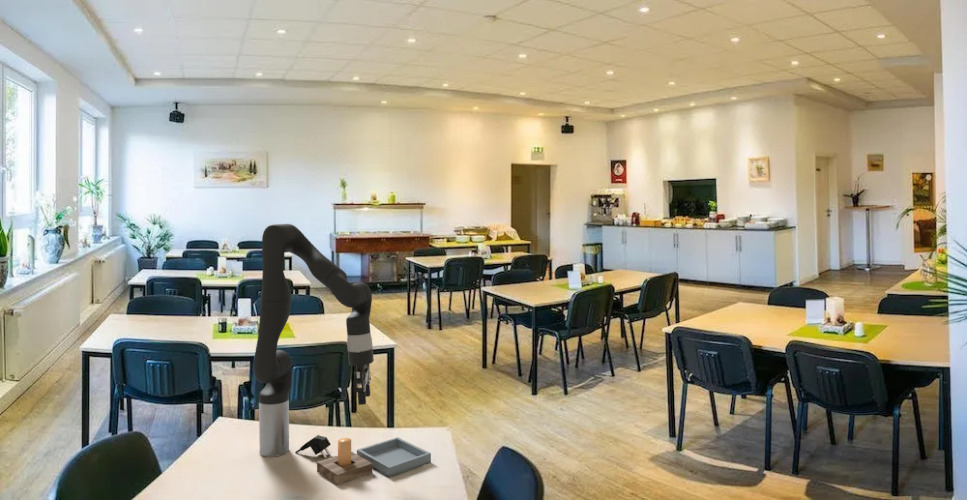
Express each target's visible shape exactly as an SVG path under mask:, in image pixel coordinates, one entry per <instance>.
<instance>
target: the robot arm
mask: <svg viewBox="0 0 967 500" xmlns="http://www.w3.org/2000/svg"><path fill="white" fill-rule="evenodd" d="M261 239H262V240H261V251H262V252H261V253H262V257H261V258H262V277H261V278H262V280H261V281H262V283H261V294H260V304H259V305H260V307H259V308H260V309H259V320H258V321H259V322H258V323H259V325H258V332H257V333H258V334H257V341H256V346H255V351H254V353H255V354H254V358H253V364H252V365H253V369H252V371H253V374H254V377H255V379H256V380H257V382H259V383H261V384H265V386H264V387H263V388H262V389H261V390H260V392H259V394H258V409H259V410H258V415H259V416H258V418H259V420H258V421H259V422H258V426H259V429H258V430H259V432H258V433H259V454H260V455H261V456H263V457H270V458H271V457H272V458H273V457H279V456H281V455H282V456H283V455H285V454H287V453H288V452H289V451H290V412H289V411H290V409H289V408H290V407H289V405H290V401H289V399H290V398H289V397H290V392H291V390H292V381H293V379H292V377H293V376H292V375H293V374H292V373H293V364H292V359H291V356H290V354H288V352H287V351H285V350H282V349H278V342H279V340H280V337H281V334H282V332H283V330H284V329H285V327H286V324H287V322H288V320H289V318H290V315H291V307H292V306H291V305H292V292H291V288H290V285H289V282H288V281H287V278H286V275H285V272H284V258H285V253H291V254H294V255H295V256H296V257H298V258H300V259H301V260H302V261H303V262H304V264H305V265H306V266H307V269H308V270H309V272H310V273H311V275H312V276H313V277H314V278H316V280H317V281H319V282H320V283H321V285H324V286H325V287H326V288H327V289H329V291H330V292H331V294H332V295H333V296H334V298H336V300H337V301H338V303H340V304H341V305H343V306H345V307H347V308H351V313H350V314H349V315H348V316H347V317H346V321H345V322H346V324H345V325H346V337H347V339H346V345H347V346H346V347H347V356H348V364H349V366H352V367H353V366H355V367H356V368H355V369H356V370H355V371H354V372H353V377H354V391H355V393H357V401H358V402H357V404H358V405H359V406H361V405H366V403H367V397H370V396H371V388H370V387H371V386H370V384H371V380H372V378H371V369H370V368H371V367H370V366H371V365H370V364H372V363H374V347H373V339H372V334H371V325H370V324H371V322H370V316H371V312H372V311H371V310H372V302H373V295H372V292H371V291H372V290H371V288H370V286H369V285H368V284H367V283H365V282H361V281H360V282H356V283H351V282H349V281H348V280H347V279H348V275H347V273H346V272H345V271H344V270H343V269H342V268H341V267H339V266H338V265H337V264H335V263H334V262H332V261H331V260H330V259H329V258H327V256H325V255H324V254H323V253H322V252H321V251H320V250H319V249H318V248H316V246H315V245H314V244H313V243H312V242H311V241H310V240H309V239H308V238H307V237H306V236H305V235H304V233H303V232H302V231H301V230H300V229H299V228H298V227H297V226H295V225H293V224H291V223H274V224H269V225H268V226H266V228H265V229H264V231H263V233H262V236H261ZM360 386H361V387H360Z"/></svg>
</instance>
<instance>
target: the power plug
mask: <svg viewBox="0 0 967 500" xmlns="http://www.w3.org/2000/svg"><path fill="white" fill-rule="evenodd" d="M331 444H332V443H331V442H330V441H329V438H327V436H322V435H320V434H318V435H316V436H314V437H313V438H311V439H310V440H308V441H307V442H306V443H304V444H303V445H301V447H300V448H298V449H297V450H296V451H295V452H294V453H295V454H298V453H300V452H303V451H305V450H307V449H309V448H311V451H312V452H313V453H314V455H315V456H316V455H318V454H321V455H322V456H323V458H324V460H325V459H328V457H327V455H328V456H330V455H331V452H330V451H329V450H328V447H330V446H331ZM324 450H325V452H324ZM325 453H326V454H327V455H326V454H325Z"/></svg>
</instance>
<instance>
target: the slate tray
mask: <svg viewBox="0 0 967 500" xmlns="http://www.w3.org/2000/svg"><path fill="white" fill-rule="evenodd" d="M356 454H357V455H359V456H360V457H362V458H364V459H366V460H367V461H369V462H371V463H372V469H374V470H375V471H377V472H379V473H380V474H382V475H384V476H386V477H387V478H392V477H394V476H396V475H400V474H402V473H405V472H408V471H410V470H414V469H417V468H420V467H422V466H424V465H425V466H426V465H428V464H431V463H432V453H431V452H429V451H427V450H425V449H423V448H421V447H420V446H417V445H415V444H412V443H411V442H408V441H406V440H405V439H402V438H400V437H399V436H397V437H395V438H391V439H388V440H383V441H381V442H378V443H375V444H372V445H367V446H365V447H361V448H358V449H356Z"/></svg>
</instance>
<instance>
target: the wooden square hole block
mask: <svg viewBox="0 0 967 500" xmlns="http://www.w3.org/2000/svg"><path fill="white" fill-rule="evenodd" d="M316 472H317V473H318V474H320V475H321V476H323V477H325V479H328V480H329V481H330V482H332V483H334V484H335V485H337V486H338V485H341V484H344V483H347V482H350V481H352V480H356V479H358V478H362V477H365V476H367V475H370V474H372V473H373V468H372V463H371V462H369V461H367V460H366V459H364V458H362V457H360V456H359V455H357V453H355V452H353V451H351V465H348V466H345V467H342V468H341V467H340V466H338V455H336V456H332V457H330V458H329V457H327V458H326V459H325V458H324V459H323V460H319V461H316Z"/></svg>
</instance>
